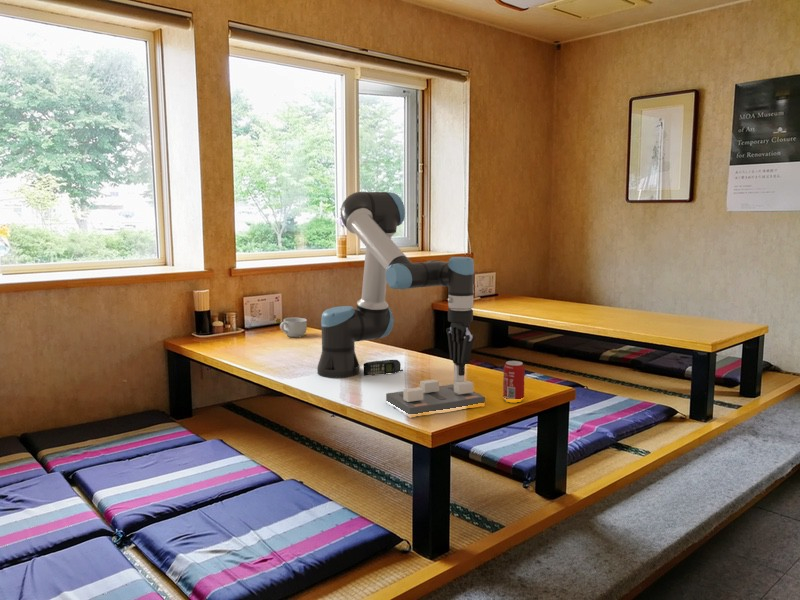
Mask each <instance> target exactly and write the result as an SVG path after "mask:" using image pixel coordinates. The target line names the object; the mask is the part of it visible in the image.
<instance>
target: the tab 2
mask: <svg viewBox="0 0 800 600" xmlns="http://www.w3.org/2000/svg"><path fill="white" fill-rule="evenodd" d="M439 386H440V381H439V380H437V379H433V378H432V379H426V380H420V382H419V388H421V389H423V393H430V392H437V391H439Z"/></svg>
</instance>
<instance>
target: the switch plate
mask: <svg viewBox="0 0 800 600" xmlns="http://www.w3.org/2000/svg"><path fill="white" fill-rule="evenodd" d="M386 401H388V402H390V403H391V404H393V405H395V406H396V407H398V408H400V409H401V410H403V411H405V412H406V413H408V414H418V413H423V412H429V411H436V410H443V409H450V408H456V407H462V406H468V405H473V404H478V403H484V402H485V403H486V396H484V395H483V394H480V393H478V392H476V391H474V390H473V393H466V394H457V393H455V392H454V383H453V384H452V383H451V384H446V385H439V391H437V392H430V393H423V400H418V401H411V402H407V401H405V400H404V399H403V390H402V391H395V392H388V393H386V394H385V402H386Z"/></svg>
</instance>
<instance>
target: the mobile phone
mask: <svg viewBox="0 0 800 600" xmlns="http://www.w3.org/2000/svg"><path fill="white" fill-rule="evenodd" d="M399 371H400V372H403V371H404V370H403V368H402V369H401V362H400V360H398V359H383V360H376V361H368V362H364V363H363V376H365V375H372V376H376V375H375V374H384V375H387V374H386V373H393V374H395V372H396V373H398V372H399Z"/></svg>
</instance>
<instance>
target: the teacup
mask: <svg viewBox="0 0 800 600" xmlns="http://www.w3.org/2000/svg"><path fill="white" fill-rule="evenodd" d="M307 322H308V319H306V318H304V317H303V318H302V317H285V318H284V319H283V321H282V322H281V323H279V328H280V331H282V332H284V334H285V335H286V336H287V337H290V338H300V337H299V336H301V337H303V336H304V335H305V334H306V332H307V329H308V328H307V325H308V323H307ZM302 335H303V336H302Z"/></svg>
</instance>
